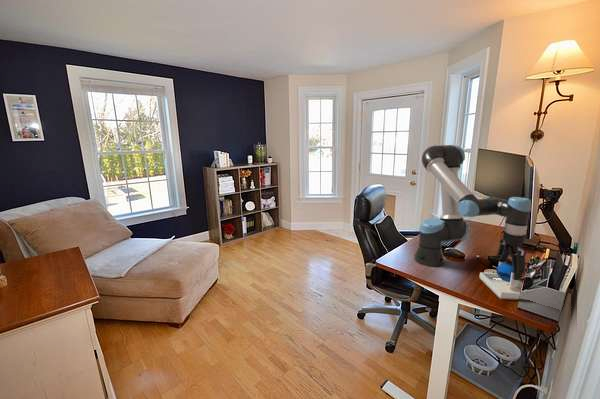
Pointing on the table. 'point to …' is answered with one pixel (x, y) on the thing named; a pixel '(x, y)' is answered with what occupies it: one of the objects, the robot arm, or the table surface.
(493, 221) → the table surface
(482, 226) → the table surface
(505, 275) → the ornament
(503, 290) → the bin
